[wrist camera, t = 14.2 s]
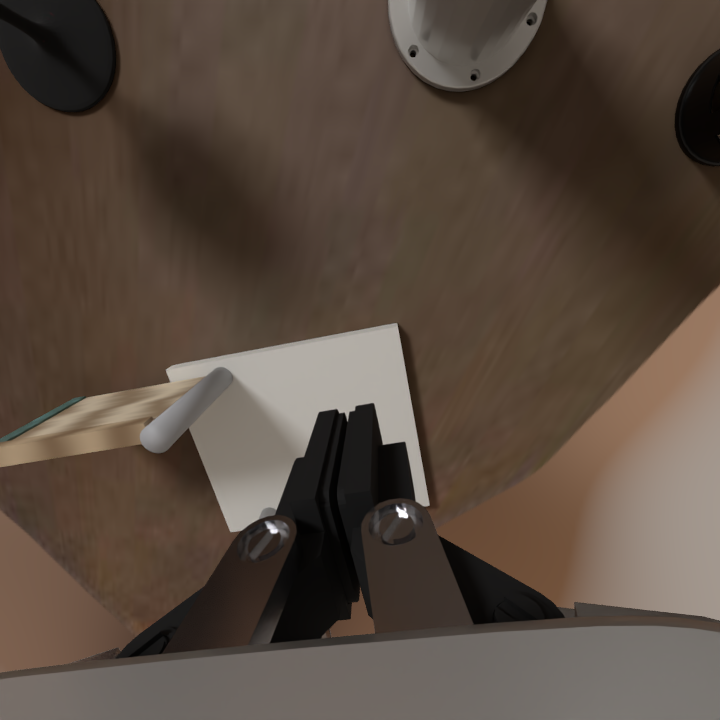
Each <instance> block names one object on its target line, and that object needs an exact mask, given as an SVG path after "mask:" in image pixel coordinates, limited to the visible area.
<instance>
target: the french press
mask: <svg viewBox="0 0 720 720" xmlns="http://www.w3.org/2000/svg"><path fill="white" fill-rule="evenodd" d="M719 78H720V49H719V50H717V51H716V52H714V53H713V54H711V55H710V56H709V57H708V58H707V59H706V60H705V61H704V62H703V63H701V64H700V65H699V66H698V68H697V69H696V70H695V72H694V73H693V74H692V75H691V77H690V78H689V80H688V82H687V83H686V85H685V87H684V88H683V90H682V93H681V96H680V98H679V101H678V104H677V109H676V113H675V130H676V137H677V139H678V142H679V144H680V147H681V148H682V149H683V151H684V152H685V154H686V155H687V156H689V157H690V158H691V159H692V160H694V161H696V162H698V163H700V164H703V165H708V166H720V139H719V137H718V136H717V135H719V134H720V110H719V111H716V112H713V113H711V109H712V99H713V95H714V91H715V88H716V85H717V83H718V80H719Z"/></svg>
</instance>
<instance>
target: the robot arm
mask: <svg viewBox="0 0 720 720" xmlns="http://www.w3.org/2000/svg"><path fill="white" fill-rule="evenodd" d="M546 3H547V0H388V16H389V23H390V29H391V33H392V36H393V39H394V43H395V46H396V48H397V50H398V52H399V54H400V56H401V57H402V59H403V61H404V62H405V64H406V65H407V66H408V67H409V69H410V70H411V71H412V72H413V73H414V74H415V75H416V76H418V77H419V78H420V79H421V80H422V81H423V82H425V83H427V84H429V85H431V86H433V87H435V88H438V89H442V90H446V91H457V92H464V91H469V90H474V89H478V88H480V87H483V86H485V85H487V84H490V83H492V82H493V81H495V80H496V79H498V78H499V77H501V76H502V75H504V74H505V73H506V72H507V71H508V70H509V69H510V68H511V67H512V66H513V65H514V64H515V63H516V62H517V61H518V59H519V58H520V57H521V56H522V54H523V53H524V52H525V51H526V49H527V47H528V46H529V44H530V43H531V41H532V40H533V38H534V36H535V34H536V32H537V30H538V28H539V26H540V24H541V21H542V18H543V14H544V11H545V7H546ZM527 22H530V26H529V25H528V24H527ZM411 53H415V55H416V56H415V57H410V54H411ZM471 76H474V77H475V81H472V80H471V79H470V77H471ZM360 587H361V591H362V594H363V598H364V601H365V604H366V608H367V612H368V615H369V616H370V617H371V618H372V619H373V621H374V628H375V634H365V635H354V636H343V637H332V638H331V633H330V627H331V626H332V625H333V624H334V623H335V622H336V621H337V620H347V619H351V606H352V602H358V601H359V593H360ZM574 606H575V607H574V608H575V609H569V608H561V607H556V605H555V604H554V603H553V602H552V601H550V600H549V599H547V598H546V597H545V596H544V595H542V594H541V593H539V592H537V591H536V590H534V589H532V588H530V587H529V586H527V585H525V584H523V583H521V582H519V581H518V580H516V579H514V578H513V577H511V576H509V575H507V574H506V573H504V572H502V571H500V570H498V569H497V568H495V567H493V566H492V565H490V564H488V563H486V562H484V561H483V560H481V559H479V558H477V557H476V556H474V555H472V554H470V553H469V552H467V551H465V550H463V549H462V548H460V547H458V546H456V545H454V544H453V543H451V542H449V541H447V540H446V539H444V538H442V537H440V536H439V535H438V534H437V532H436V529H435V526H434V524H433V521H432V519H431V516H430V514H429V513H428V511H427V510H426V508H425V507H424V506H422V505H421V504H420V503H418V502H416V499H415V492H414V485H413V479H412V474H411V468H410V463H409V457H408V452H407V447H406V443H405V442H398V443H391V444H385V445H383V442H382V437H381V432H380V428H379V423H378V418H377V414H376V409H375V405H374V403H370V404H364V405H358V406H356V407H355V411H350V412H349V417H348V421H347V417H346V414H345V413H339V411H338V410H337V409H334V410H328V411H322V412H319V413H318V416H317V419H316V422H315V425H314V428H313V431H312V434H311V437H310V440H309V443H308V446H307V449H306V452H305V455H304V457H300V458H296V459H295V461H294V464H293V466H292V469H291V472H290V475H289V477H288V480H287V483H286V486H285V488H284V491H283V494H282V497H281V499H280V502H279V505H278V508H277V510H276V513H275V515H273V516H267V517H264V518H261V519H259V520H257V521H255V522H253V523H251V524H250V525H248V526H247V527H246V528H244V529H243V530H242V531H241V532H240V533H239V534H238V535H237V537H236V538H235V539H234V540H233V542H232V544H231V545H230V547H229V548H228V550H227V552H226V553H225V555H224V556H223V558H222V559H221V561H220V563H219V564H218V566H217V567H216V569H215V571H214V572H213V574H212V575H211V577H210V578H209V580H208V582H207V583H206V585H205V586H204V587H203V588H201V589H200V590H199V591H197V592H196V593H195V594H193V595H192V596H191V597H189V598H188V599H186V600H185V601H184V602H182V603H181V604H180V605H178V606H177V607H176V608H174V609H173V610H172V611H170V612H169V613H167V614H166V615H165V616H163V617H162V618H161V619H159V620H158V621H157V622H155V623H154V624H153V625H151V626H150V627H149V628H147V629H146V630H144V631H143V632H142V633H140V634H139V635H138V636H137V637H136V638H134V639H133V640H132V641H131V642H130V643H129V644H128V645H127V646H126V647H125V648H124V649H123V650H122V651H120V650H119V648H115V649H112V650H109V651H106V652H103V653H100V654H97V655H94V656H91V657H88V658H85V659H82V660H79V661H76V662H72V663H69V664H64V665H56V666H49V667H40V668H32V669H24V670H16V671H9V672H2V673H0V720H720V621H719V620H715V619H711V618H707V617H702V616H693V615H685V614H676V613H667V612H658V611H648V610H640V609H632V608H622V607H614V606H605V605H596V604H587V603H578V602H575V603H574Z"/></svg>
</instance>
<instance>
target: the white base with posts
mask: <svg viewBox="0 0 720 720" xmlns="http://www.w3.org/2000/svg"><path fill="white" fill-rule="evenodd" d="M166 372H167V375H168V377H169V380H170V382H176V381H182V380H187V379H193V378H198V377H204V376H206V377H204V378H203V379H202V380H201V381H200V382H199V383H197V384H196V385H195V386H194V387H193V388H191V389H190V390H189V391H188V392H187V393H185V394H184V395H183V396H182V397H181V398H180V399H178V400H177V401H176V402H175V403H174V404H172V405H171V406H170V407H169V408H168V409H166V410H165V411H164V412H163V413H162V414H161V415H159V416H158V417H157V418H156V419H155V420H153V421H152V422H151V423H150V424H149V425H147V426H146V427H145V428H144V429H143V430H142V431H141V433H140V441H141V443H142V445H143V446H144V447H145V448H146V449H147V450H149V451H151V452H154V453H163V452H165V451H167V450H168V449H169V448H170V447H171V446H172V445H173V444H174V442H175V441H176V440H177V439H178V438H179V437H180V436H181V435H182V434H183V433H184V432H185V431H186V430H187V429H188V428H189V430H190V432H191V435H192V437H193V440H194V442H195V445H196V447H197V450H198V452H199V455H200V457H201V460H202V462H203V465H204V467H205V470H206V472H207V475H208V477H209V480H210V482H211V485H212V487H213V490H214V492H215V495H216V497H217V500H218V502H219V505H220V507H221V510H222V512H223V515H224V517H225V520H226V522H227V525H228V527H229V530H230V532H235V531H242V530H243V529H244V528H246V527H247V526H248V525H250V524H251V523H253V522H255V521H257V520H259V519H261V518H264V517H267V516H273V515H275V513H276V510H277V508H278V505H279V502H280V499H281V497H282V494H283V491H284V488H285V486H286V483H287V480H288V477H289V475H290V472H291V469H292V466H293V464H294V461H295V459H296V458H300V457H304V455H305V452H306V449H307V446H308V443H309V440H310V437H311V434H312V431H313V428H314V425H315V422H316V419H317V416H318V413H319V412H322V411H328V410H334V409H337V410H338V411H339V413H345V414H346V417H347V421H348V417H349V412H350V411H355V407H356V406H358V405H364V404H370V403H374V405H375V409H376V414H377V418H378V423H379V428H380V432H381V437H382V442H383V445H385V444H391V443H398V442H405V443H406V447H407V452H408V457H409V463H410V468H411V474H412V479H413V485H414V492H415V499H416V502H418V503H420V504H421V505H422V506H430V504H429V499H428V493H427V488H426V482H425V476H424V471H423V465H422V459H421V454H420V448H419V443H418V437H417V431H416V426H415V420H414V414H413V409H412V403H411V398H410V392H409V386H408V381H407V375H406V369H405V364H404V358H403V353H402V347H401V341H400V336H399V330H398V325H397V323H394V324H388V325H383V326H378V327H373V328H367V329H362V330H357V331H351V332H346V333H341V334H336V335H330V336H325V337H320V338H314V339H309V340H304V341H299V342H293V343H288V344H283V345H277V346H272V347H267V348H262V349H256V350H251V351H246V352H240V353H235V354H230V355H225V356H219V357H214V358H209V359H203V360H198V361H193V362H187V363H182V364H177V365H172V366H171V367H169V368H168V369H166Z"/></svg>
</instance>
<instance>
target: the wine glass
mask: <svg viewBox="0 0 720 720" xmlns="http://www.w3.org/2000/svg"><path fill="white" fill-rule="evenodd" d="M0 49H1V51H2V54H3V57H4V59H5V61H6V63H7V65H8V67H9V69H10V71H11V72H12V74H13V75H14V77H15V78H16V80H17V81H18V82H19V84H20V85H21V86H22V87H23V88H24V89H25V90H26V91H27V92H28V93H29V94H30V95H31V96H33V97H34V98H35V99H36V100H38V101H39V102H41V103H43V104H45V105H46V106H49V107H51V108H54V109H57V110H60V111H65V112H80V111H84V110H87V109H90V108H91V107H93V106H95V105H96V104H98V103H99V102H100V101H101V100H102V99H103V98H104V96H105V95H106V93H107V92H108V90H109V88H110V86H111V83H112V81H113V77H114V73H115V65H116V52H115V45H114V39H113V35H112V32H111V28H110V26H109V23H108V21H107V18H106V17H105V15H104V13H103V11H102V9H101V7H100V6H99V5H98V3H97V2H96V0H0Z"/></svg>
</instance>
